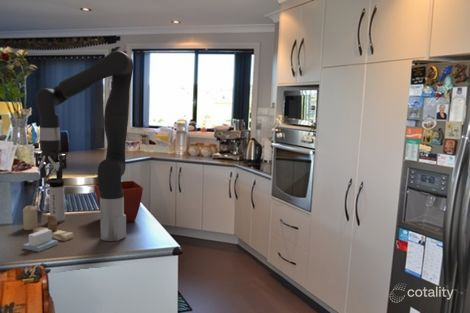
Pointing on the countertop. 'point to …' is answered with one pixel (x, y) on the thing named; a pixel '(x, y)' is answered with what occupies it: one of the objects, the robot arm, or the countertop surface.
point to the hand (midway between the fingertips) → (51, 178)
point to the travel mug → (57, 199)
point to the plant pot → (128, 198)
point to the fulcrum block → (40, 241)
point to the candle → (30, 218)
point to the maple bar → (55, 229)
